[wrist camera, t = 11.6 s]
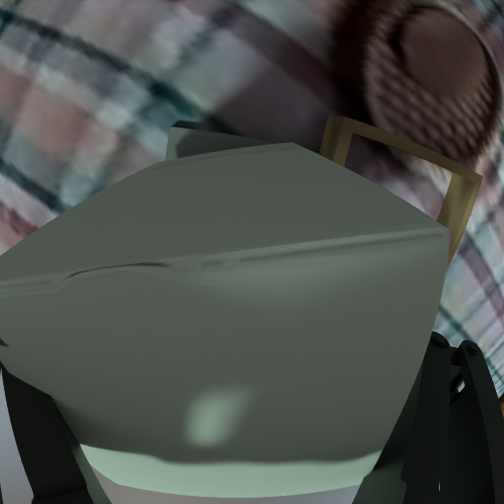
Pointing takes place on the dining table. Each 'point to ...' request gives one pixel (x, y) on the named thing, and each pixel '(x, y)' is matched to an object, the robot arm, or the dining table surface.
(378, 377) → the supplement box
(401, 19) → the dining table surface
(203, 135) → the coaster
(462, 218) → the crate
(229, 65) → the dining table surface
